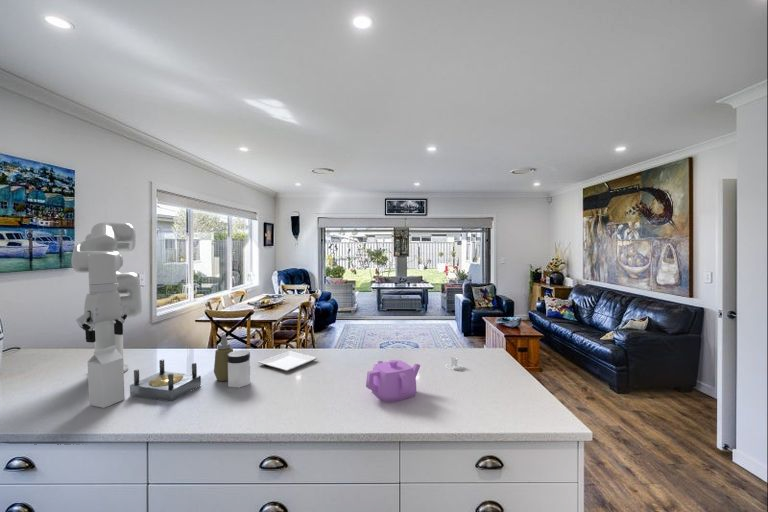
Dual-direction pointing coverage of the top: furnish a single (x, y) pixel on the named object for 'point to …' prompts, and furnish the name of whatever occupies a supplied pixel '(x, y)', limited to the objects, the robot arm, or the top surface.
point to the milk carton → (106, 377)
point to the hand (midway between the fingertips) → (105, 338)
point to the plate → (287, 360)
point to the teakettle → (392, 380)
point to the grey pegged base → (165, 384)
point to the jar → (238, 368)
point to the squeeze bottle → (222, 359)
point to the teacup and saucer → (454, 364)
